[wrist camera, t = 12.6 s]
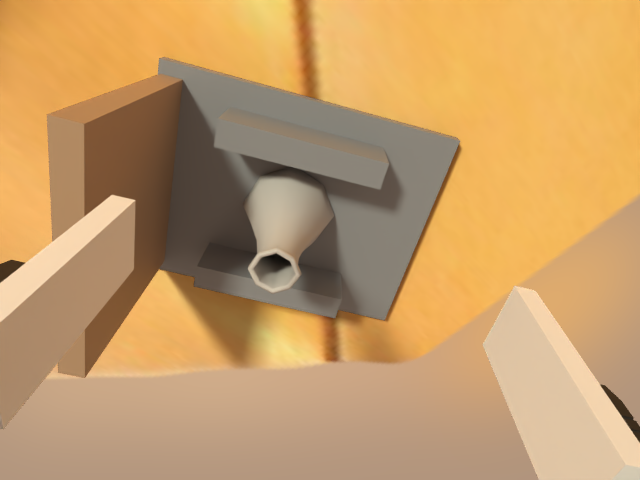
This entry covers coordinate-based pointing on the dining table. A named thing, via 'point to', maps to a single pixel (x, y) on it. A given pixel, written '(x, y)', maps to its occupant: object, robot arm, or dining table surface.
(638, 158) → the dining table surface
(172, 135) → the shaker holder
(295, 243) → the flask
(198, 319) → the dining table surface
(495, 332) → the robot arm
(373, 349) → the dining table surface
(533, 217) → the dining table surface
